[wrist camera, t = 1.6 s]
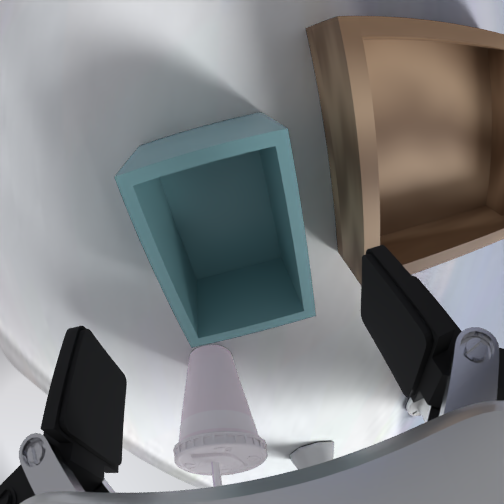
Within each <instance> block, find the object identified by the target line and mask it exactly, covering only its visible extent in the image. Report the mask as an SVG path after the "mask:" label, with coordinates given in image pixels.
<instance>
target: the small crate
mask: <svg viewBox="0 0 504 504" xmlns="http://www.w3.org/2000/svg"><path fill="white" fill-rule="evenodd" d="M115 180H116V183H117V185H118V188H119V190H120V193H121V196H122V198H123V201H124V203H125V206H126V208H127V211H128V213H129V216H130V218H131V220H132V223H133V225H134V228H135V230H136V232H137V235H138V237H139V239H140V242H141V244H142V246H143V249H144V251H145V253H146V255H147V258H148V260H149V262H150V264H151V266H152V269H153V271H154V273H155V275H156V277H157V279H158V282H159V284H160V286H161V288H162V290H163V292H164V294H165V296H166V298H167V300H168V302H169V305H170V307H171V309H172V311H173V313H174V315H175V317H176V319H177V321H178V323H179V324H180V326H181V328H182V330H183V332H184V334H185V336H186V338H187V340H188V342H189V344H190V346H191V347H197V346H201V345H206V344H210V343H215V342H219V341H223V340H227V339H231V338H235V337H239V336H243V335H247V334H251V333H255V332H259V331H263V330H267V329H270V328H274V327H278V326H281V325H285V324H289V323H292V322H296V321H299V320H303V319H306V318H310V317H313V316H316V313H315V304H314V296H313V288H312V280H311V272H310V264H309V257H308V249H307V242H306V235H305V228H304V221H303V215H302V208H301V202H300V196H299V189H298V183H297V177H296V172H295V166H294V160H293V154H292V149H291V143H290V138H289V132H288V128H286V127H285V126H283V125H282V124H280V123H278V122H277V121H275V120H273V119H272V118H270V117H268V116H267V115H265V114H263V113H262V112H259V113H254V114H250V115H245V116H241V117H237V118H233V119H228V120H224V121H221V122H217V123H213V124H209V125H205V126H202V127H198V128H195V129H191V130H188V131H184V132H181V133H177V134H174V135H171V136H168V137H165V138H161V139H158V140H155V141H152V142H149V143H146V144H143V145H140V146H139V147H138V148H137V150H136V151H135V152H134V153H133V154H132V156H131V157H130V158H129V159H128V160H127V162H126V163H125V164H124V165H123V167H122V168H121V169H120V170H119V172H118V173H117V174H116V176H115Z"/></svg>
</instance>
